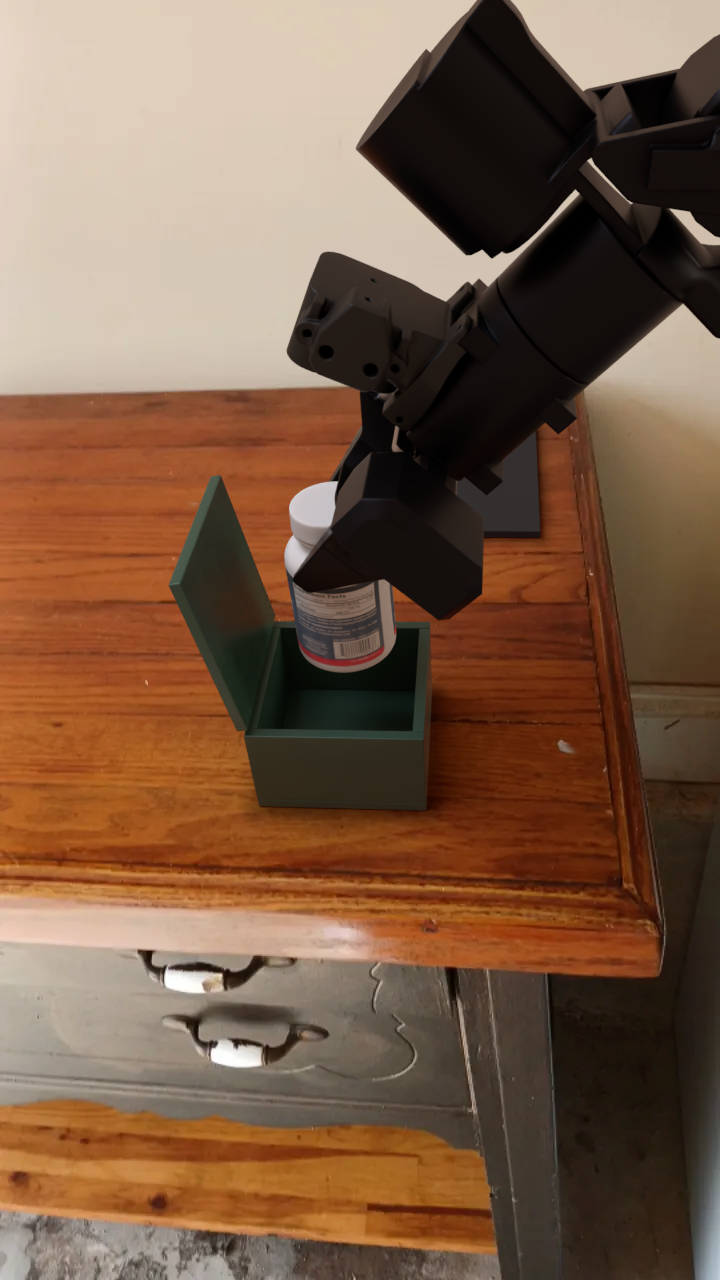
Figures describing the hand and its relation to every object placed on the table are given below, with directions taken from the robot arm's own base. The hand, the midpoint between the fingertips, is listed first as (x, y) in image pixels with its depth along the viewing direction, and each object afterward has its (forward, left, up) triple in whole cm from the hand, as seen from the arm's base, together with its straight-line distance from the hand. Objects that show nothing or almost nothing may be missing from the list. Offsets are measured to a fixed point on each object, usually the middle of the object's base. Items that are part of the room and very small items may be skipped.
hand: (309, 551), depth 47 cm
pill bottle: (-1, 0, -6) cm, 6 cm away
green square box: (-1, +1, -13) cm, 13 cm away
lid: (+4, 0, -2) cm, 5 cm away
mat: (-14, -26, -13) cm, 32 cm away
